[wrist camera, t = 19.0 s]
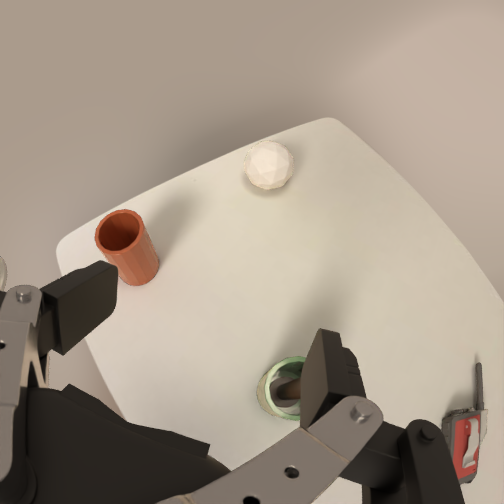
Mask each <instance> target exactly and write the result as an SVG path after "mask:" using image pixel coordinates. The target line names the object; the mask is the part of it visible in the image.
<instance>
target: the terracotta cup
mask: <svg viewBox="0 0 504 504" xmlns="http://www.w3.org/2000/svg"><path fill="white" fill-rule="evenodd" d="M95 241H96V245H97V247H98V249H99V250H100V251H101V253H102V254H103V256H104V257H105V258H106V260H107V261H108V262H109V263H110V264H112V265H115V266H117V268H118V276H119V277H120V278H121V279H122V280H123V281H124V282H125V283H127V284H129V285H133V286H139V285H143V284H146V283H147V282H149V281H150V280H151V279H153V277H154V276H155V275H156V273H157V271H158V267H159V259H158V256H157V254H156V252H155V249H154V247H153V245H152V242H151V240H150V238H149V235H148V233H147V231H146V228H145V226H144V223H143V221H142V218H141V216H139V215H138V214H137V213H136V212H134V211H131V210H127V209H124V210H116V211H114V212H112V213H110V214H108V215H107V216H106V217H105V218H103V219H102V220H101V221H100V223H99V225H98V227H97V228H96V232H95Z"/></svg>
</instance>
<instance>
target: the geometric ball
mask: <svg viewBox="0 0 504 504" xmlns="http://www.w3.org/2000/svg"><path fill="white" fill-rule="evenodd" d="M293 163H294V158H293V157H292V155H291V154H290V152H289V151H288V149H287V148H286V146H284V145H281V144H279V143H276V142H273V141H261V142H260V143H258V144H256V145H255V146H254V147H252V148H251V149H250V150H249V152H248V154H247V155H246V158H245V160H244V169H245V173H246V175H247V176H248V178H249V179H250V181H251V183H252V184H253V185H256V186H258V187H261V188H263V189H266V190H269V189H274V188H278V187H281V186H283V185H284V184H285V183H286V181H287V180H288V179H289V178H290V177H291V176H292V174H293Z"/></svg>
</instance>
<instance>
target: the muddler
mask: <svg viewBox="0 0 504 504" xmlns="http://www.w3.org/2000/svg"><path fill="white" fill-rule="evenodd" d="M270 395H271V399H272V400H273V402H274V404H275V405H276V406H277V407H282V408H287V407H291V406H293V405H295V404H296V403H297V402H298V401H299V399H301V377H299V378H297V379H293V378H291V377H286V376H285V377H280V378H277V379H276V380H274V381H273V382H272V383H271V384H270Z"/></svg>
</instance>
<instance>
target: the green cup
mask: <svg viewBox="0 0 504 504" xmlns="http://www.w3.org/2000/svg"><path fill="white" fill-rule="evenodd" d="M305 360H306V358H305V357H301V356H297V357H290V358H286V359H284V360H282V361H281V362H279V363H277V364H276V365H274V366H273V367H272V368H271V369H270V370H269V371H268V372H267V373H266V374H265V375H264V376H263V377H262V379H261V380H260V382H259V384H258V388H257V397H258V401H259V403H260V405H261V406H262V408H263V409H264V410H265V411H267V412H268V413H270V414H271V415H274V416H277V417H281V418H285V419H290V420H294V421H298V420H300V404H301V399H299V401H298V402H297V403H296V404H295V405H293V406H291V407H287V408H282V407H277V406H276V405H275V404H274V402H273V400H272V399H271V395H270V384H271V383H272V382H273V381H274V380H276V379H277V378H280V377H285V376H286V377H291V378H293V379H297V378H299V377H301V373H302V369H303V365H304V362H305Z"/></svg>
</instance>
